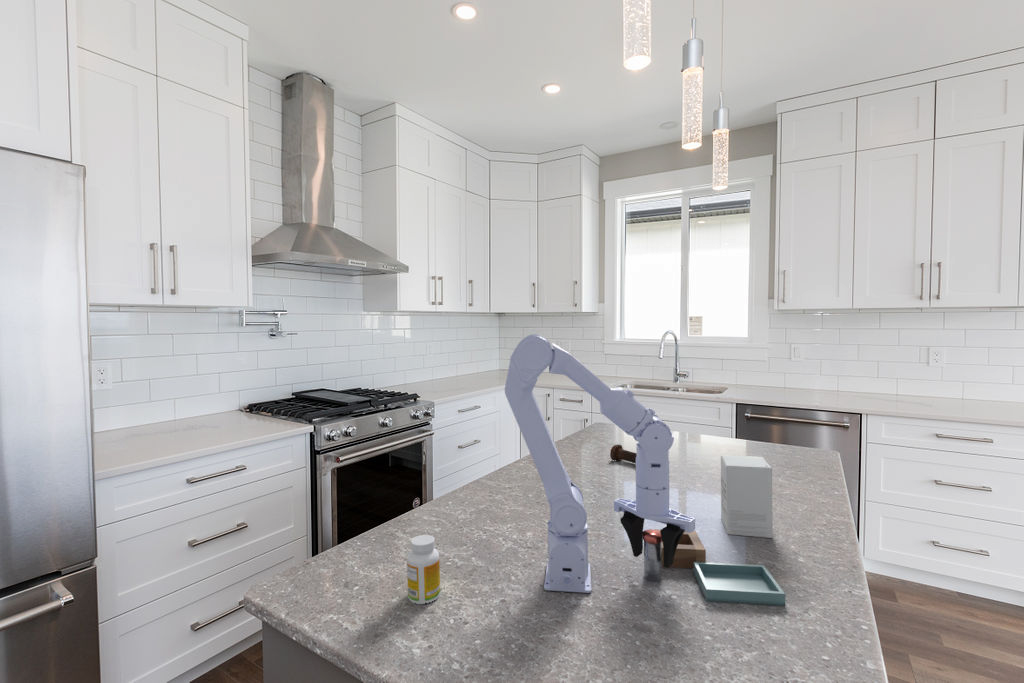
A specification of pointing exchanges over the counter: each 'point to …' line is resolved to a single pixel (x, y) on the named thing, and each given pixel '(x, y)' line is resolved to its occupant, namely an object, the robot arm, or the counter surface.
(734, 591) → the tray
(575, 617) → the counter surface
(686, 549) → the bore block
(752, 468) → the supplement box
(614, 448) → the bolt
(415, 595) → the supplement bottle
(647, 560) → the red capped cylinder
